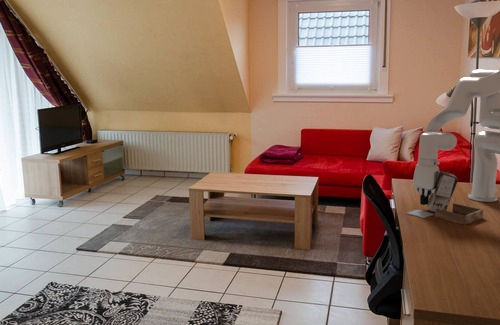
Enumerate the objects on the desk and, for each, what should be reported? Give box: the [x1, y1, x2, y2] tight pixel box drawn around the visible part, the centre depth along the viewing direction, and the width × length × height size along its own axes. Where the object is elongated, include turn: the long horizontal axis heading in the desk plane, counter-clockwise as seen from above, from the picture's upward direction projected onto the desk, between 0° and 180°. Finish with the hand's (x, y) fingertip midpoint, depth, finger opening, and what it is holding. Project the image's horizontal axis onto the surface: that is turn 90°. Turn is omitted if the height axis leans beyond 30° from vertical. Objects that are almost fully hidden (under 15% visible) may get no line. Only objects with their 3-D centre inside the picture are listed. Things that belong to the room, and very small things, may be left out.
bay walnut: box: [434, 202, 484, 226], centre depth 197 cm, size 14×13×4 cm
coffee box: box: [426, 170, 459, 213], centre depth 204 cm, size 9×6×16 cm
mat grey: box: [406, 209, 435, 219], centre depth 202 cm, size 8×8×1 cm
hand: (423, 204), depth 209 cm, fingers closed
